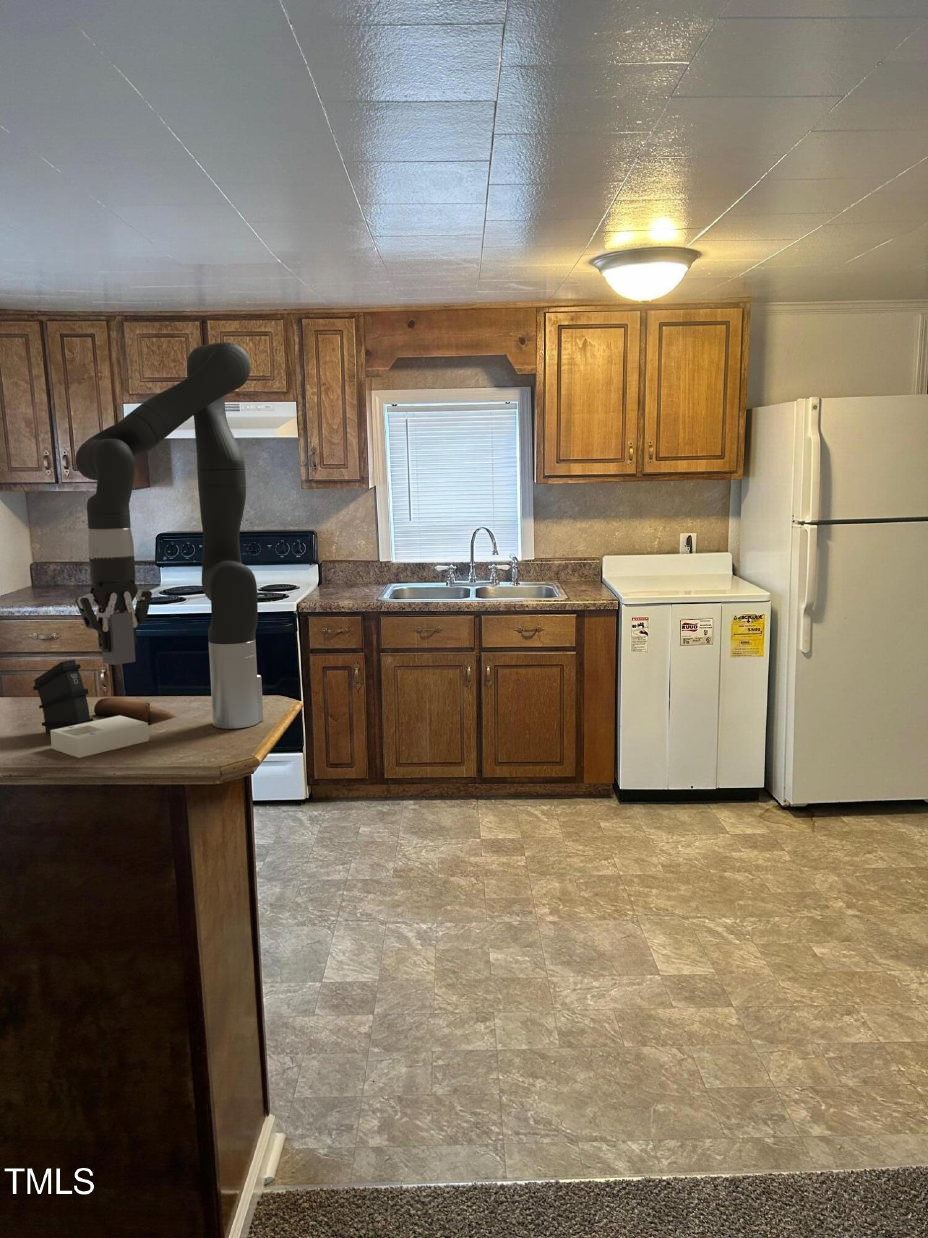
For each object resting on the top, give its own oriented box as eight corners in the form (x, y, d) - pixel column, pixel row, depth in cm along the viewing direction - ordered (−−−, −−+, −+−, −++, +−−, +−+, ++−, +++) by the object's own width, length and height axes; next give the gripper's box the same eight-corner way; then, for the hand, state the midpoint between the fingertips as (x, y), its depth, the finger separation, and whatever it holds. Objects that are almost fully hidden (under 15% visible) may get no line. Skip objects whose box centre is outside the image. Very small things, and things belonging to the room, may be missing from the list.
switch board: (121, 732, 179) (119, 714, 178) (149, 740, 173) (147, 722, 172) (51, 748, 168) (50, 729, 168) (78, 758, 162) (77, 738, 161)
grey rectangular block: (123, 659, 165) (120, 609, 164) (135, 661, 162) (132, 611, 161) (103, 662, 162) (99, 612, 160) (115, 665, 159) (111, 614, 158)
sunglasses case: (181, 716, 191) (167, 692, 188) (159, 739, 187) (144, 716, 183) (126, 706, 201) (111, 684, 197) (104, 728, 196) (88, 706, 193)
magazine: (87, 734, 171) (60, 661, 173) (51, 754, 179) (26, 684, 180) (104, 730, 175) (77, 658, 176) (68, 750, 182) (43, 681, 183)
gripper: (136, 551, 167) (142, 642, 170) (61, 556, 156) (69, 653, 159) (159, 552, 162) (165, 646, 165) (84, 557, 151) (91, 658, 154)
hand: (118, 649), depth 162 cm, fingers closed on grey rectangular block, 4 cm apart
